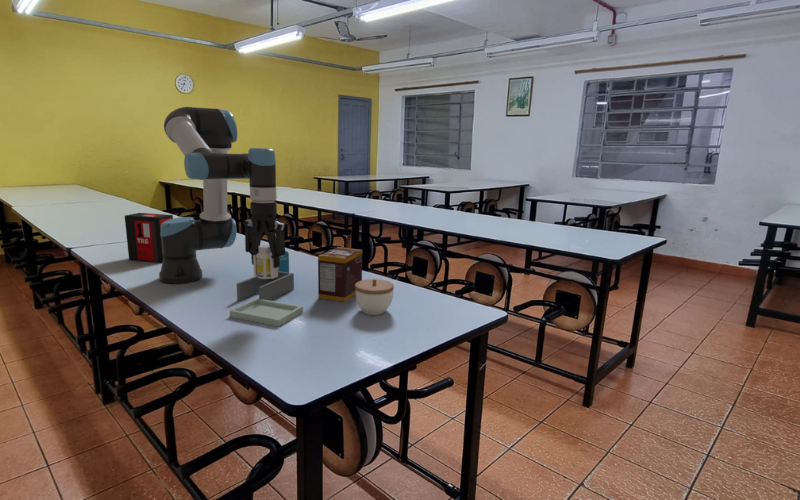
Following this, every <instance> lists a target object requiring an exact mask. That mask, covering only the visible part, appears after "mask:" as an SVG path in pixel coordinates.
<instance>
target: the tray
mask: <svg viewBox="0 0 800 500" xmlns="http://www.w3.org/2000/svg"><path fill="white" fill-rule="evenodd" d="M303 313H304V306H303V305H297V304H291V303H285V302H280V301H275V300H264V299H259V297H257V298H254V299H252V300H250V301H248V302H246V303H243V304H241V305H239V306H237V307H234V308H233V309H231V310H229V317H230V318H234V319H238V320H243V319H244V321H248V320H249V321H248V322H253V321H254V322H255V323H258V322H259V323H260V324H263V323H264V324H265V325H269V326H274V327H282V325H284V324H286V323H287V322H289V321H291V320H293V319H294V318H296V317H298V316H300V315H301V314H303Z"/></svg>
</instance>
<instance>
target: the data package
mask: <svg viewBox="0 0 800 500" xmlns="http://www.w3.org/2000/svg"><path fill="white" fill-rule="evenodd" d="M278 271H280V272H287V273H290V255H289V252H288V250H285V255H282V256H280V266H279V267H278Z"/></svg>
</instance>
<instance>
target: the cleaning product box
mask: <svg viewBox="0 0 800 500" xmlns="http://www.w3.org/2000/svg"><path fill="white" fill-rule="evenodd" d="M170 219H174V215H173V214H165V213H163V214H161V213H160V214H159V213H147V212H137V213H136V212H135V213H132V214H131V213H130V214H125V215H124V223H125V224H124V225H125V233H126V243H127V244H126V245H127V252H128V261H132V262H144V263H153V264H162V263H163V253H162V241H161V236H160V234H161V224H162V223H163V222H165V221H167V220H170Z"/></svg>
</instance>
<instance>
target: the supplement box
mask: <svg viewBox="0 0 800 500" xmlns="http://www.w3.org/2000/svg"><path fill="white" fill-rule="evenodd" d="M317 269H318V270H317V277H318V279H317V281H318V283H317V284H318V286H317V287H318V290H317V291H318V293H317V294H318V296H317V297H318V298H319V299H325V300H330V301H338V302H343V303H344V302H346V301H348V300H349V299H351V298H352V297H353V296H356V295H355V284H356V283H357V282H359V281H362V280H363V249H358V248H357V249H356V248H348V247H341V246H340V247H339V246H337V247H334V248H333V249H330V250H328V251H326V252H323V253H322V254H319V255H318V256H317Z"/></svg>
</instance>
